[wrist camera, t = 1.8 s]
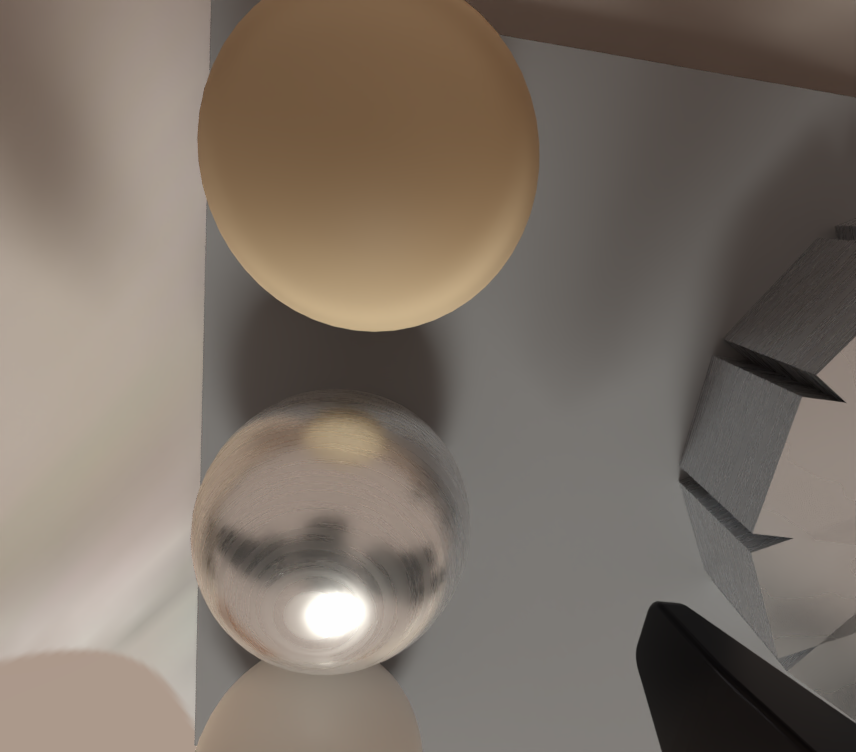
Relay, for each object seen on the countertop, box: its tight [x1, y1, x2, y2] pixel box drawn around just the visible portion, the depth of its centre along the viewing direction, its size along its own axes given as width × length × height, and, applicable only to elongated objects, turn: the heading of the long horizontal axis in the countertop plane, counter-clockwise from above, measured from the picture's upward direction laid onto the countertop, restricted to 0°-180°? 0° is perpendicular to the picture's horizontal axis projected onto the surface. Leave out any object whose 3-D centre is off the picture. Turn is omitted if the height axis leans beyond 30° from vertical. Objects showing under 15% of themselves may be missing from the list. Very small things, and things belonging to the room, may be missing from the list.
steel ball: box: [191, 389, 470, 675], centre depth 9 cm, size 4×4×4 cm
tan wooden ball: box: [198, 0, 539, 332], centre depth 7 cm, size 4×4×4 cm
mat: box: [195, 0, 856, 752], centre depth 12 cm, size 16×21×1 cm
